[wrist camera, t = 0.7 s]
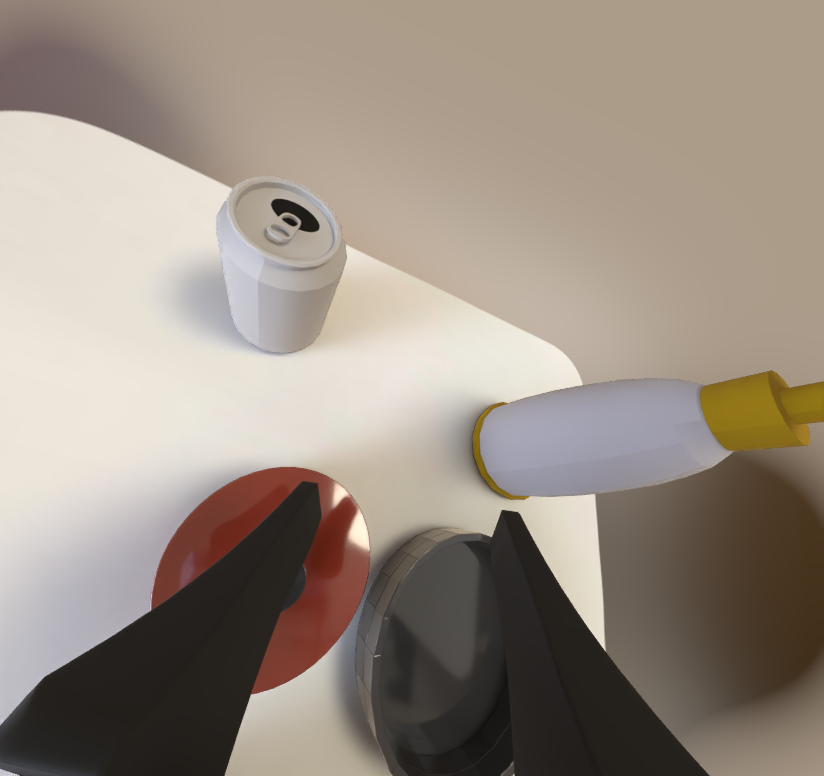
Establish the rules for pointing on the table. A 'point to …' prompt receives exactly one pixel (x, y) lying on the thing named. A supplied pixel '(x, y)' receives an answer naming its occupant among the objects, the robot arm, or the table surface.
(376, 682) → the pan
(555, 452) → the soap bottle
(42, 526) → the table surface
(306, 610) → the lid
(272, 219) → the can
